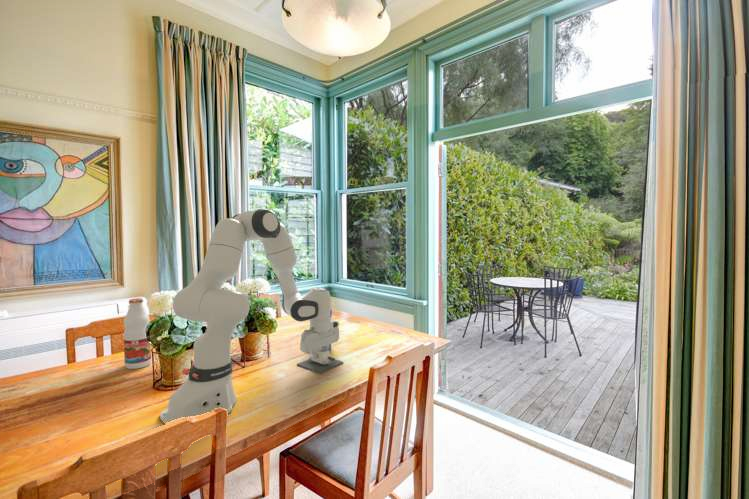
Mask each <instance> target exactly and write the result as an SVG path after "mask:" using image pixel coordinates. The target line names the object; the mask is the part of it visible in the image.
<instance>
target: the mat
mask: <svg viewBox="0 0 749 499" xmlns="http://www.w3.org/2000/svg"><path fill="white" fill-rule="evenodd" d="M343 364H344V361H342V360H339V359H336V358H335V360H334V361H332V360H330V363H329V364H320V363H318V362H315V361H312V360H311V357H310V358H308V359H306V360H303V361H300V362H298V363H296V366H298V367H300V368H303V369H306V370H308V371H311V372H314V373H317V374H320V375H321V374H323V373H325V372H327V371H330V370H332V369H334V368H336V367H338V366H340V365H343Z"/></svg>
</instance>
